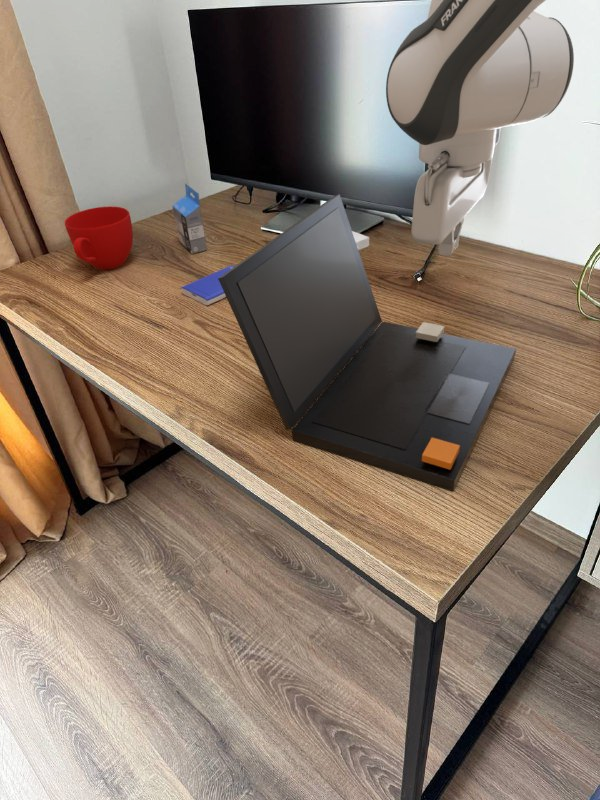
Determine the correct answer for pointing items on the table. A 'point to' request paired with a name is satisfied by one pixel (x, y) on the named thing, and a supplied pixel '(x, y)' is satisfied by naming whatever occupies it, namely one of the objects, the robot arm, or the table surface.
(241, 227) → the table surface
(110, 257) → the ceramic cup
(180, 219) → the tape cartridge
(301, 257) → the laptop screen
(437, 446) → the key amber
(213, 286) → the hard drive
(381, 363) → the laptop
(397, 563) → the table surface
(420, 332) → the off-white flat block
